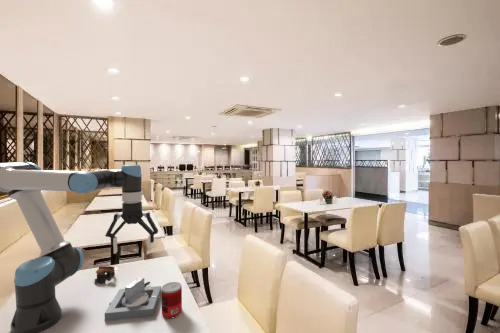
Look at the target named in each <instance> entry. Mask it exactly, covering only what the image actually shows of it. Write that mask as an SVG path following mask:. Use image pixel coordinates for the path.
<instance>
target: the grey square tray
mask: <svg viewBox="0 0 500 333" xmlns="http://www.w3.org/2000/svg"><path fill="white" fill-rule="evenodd" d="M161 289H162V286H161V285H157V286H146V287H145V293H147V294H148V296H149V302H148V304H147V305H146V306H136V307H124V308H122V306H120V305H122V299H123V298H124V297H125V288H120V289H119V290H118V292H117V293H116V295H115V296H114V298H113V299H112V301H111V302H110V303H111V304H110V305H108V307H107V308H106V310H105V312H104V322H105V321H115V320H127V319H137V318H149V317H154V315H155V312H156V310H157V307H156V306H158V304H157V303H159V301H158V300H160V298H159V297H161ZM155 309H156V310H155Z"/></svg>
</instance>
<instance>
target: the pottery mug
mask: <svg viewBox="0 0 500 333" xmlns="http://www.w3.org/2000/svg"><path fill="white" fill-rule="evenodd" d="M95 273H96V278H94V285H96V284H98V285H100V284H101V285H105V284H106V282H110V281H112V279H113V278H114V276H115V275H116V273H115V267H114V266H110V265H106V266H105V265H104V266H103V265H102V266H99V267H98V269H97V270H96V271H95Z"/></svg>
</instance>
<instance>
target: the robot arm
mask: <svg viewBox="0 0 500 333" xmlns="http://www.w3.org/2000/svg"><path fill="white" fill-rule="evenodd" d="M141 167H142V166H141V165H140V164H123V165H121V168H120V169H105V168H100V169H94V170H91V171H90V170H89V171H82V170H81V171H80V170H79V171H77V170H75V171H74V170H44V169H42V168H41V167H40V165H37V164H36V163H33V162H30V161H15V162H14V161H13V162H0V193H7V194H8V197H9V198H10V199H13V200H15V201H16V203H17V204H18V207H19V209H20V210H21V213H22V215H23V217H24V218H25V221H26V223H27V225H28V227H29V229H30V231H31V233H32V235H33V236H34V237H33V238H34V239H35V241H36V243H37V245H38V247H39V249H40V254H39V256H38V257H35V258H33V259H30V260H29V259H28V260H27V261H25V262H22V263H21V264H19V266H18V267H16V269H15V271H14V280H13V282H14V290H15V291H14V292H15V293H14V294H15V311H14V314H13V317H12V321H11V323H10V332H12V333H36V332H37V333H40V332H43V331H45V330H47V329H48V328H49V329H50V327H52V326H54V325H55V324H57V323H58V322H59V321H60V320H61V318H62V316H63V314H62V313H63V312H62V308H61V305H60V304H59V302H58V299H57V298H56V286H57V285H60V284H61V283H62V282H64V281H65V280H67V279H68V278H70V277H72V276H74V275H76V273H77V272H79V270H80V269H82V267H83V264H84V261H85V258H84V257H85V256H84V254H83V251H82V250H81V249H80V248H78V247H76V246H73V245H72V244H71V242H70V241H66V240H65V239H64V236H63V235H62V232H61V231H60V228H59V226H58V224H57V222H56V221H55V218H54V216H53V215H52V212H51V210H50V208H49V206H48V204H47V202H46V200H45V197H44V196H43V193H42V191H50V192H51V191H52V192H53V191H55V192H60V191H61V192H74V193H76V194H89V193H91V192H94V191H95V192H96V191H99V190H104V189H109V188H121V201H122V203H121V205H122V207H121V208H122V213H118V212H116V213H114V214H113V219H112V221H111V224H110V226H109V228H108V230H107V231H106V233H105V235H104V236H105V237H107V238H110V245H111V246H113V255H114V254H115V255H116V254H117V253H118V236H117V235H116V234H118V233H119V231H120V230H121V229H122V228H123V227H124V226H125V225H126V224H127V225H131V224H132V225H135V224H139V225H140V226H141V227H142V228H143V229H144V230H145V231H146V232H147V233H148V241H147V242H148V252H151V250H152V243H154V241H155V239H154V238H155V237H154V236H155V235H157V234H158V233H159V230H158V228H157V225H156V224H155V222H154V220H153V218H152V217H151V211H147V212H143V202H142V200H143V193H142V190H143V189H142V178H143V177H142V176H143V175H142V168H141ZM143 217H144V218H145V219H146V221H147V222H148V224H149V225H150V226H149V225H148V224H147V223H146V222H145V221H144V220H143V219H142V218H143ZM120 218H121V219H123V221H122V222H121V223H120V225H119V226H117V227H116V229H115V230H114V231H113V229H114V228H115V226H116V224H117V222H118V220H119V219H120Z"/></svg>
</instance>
